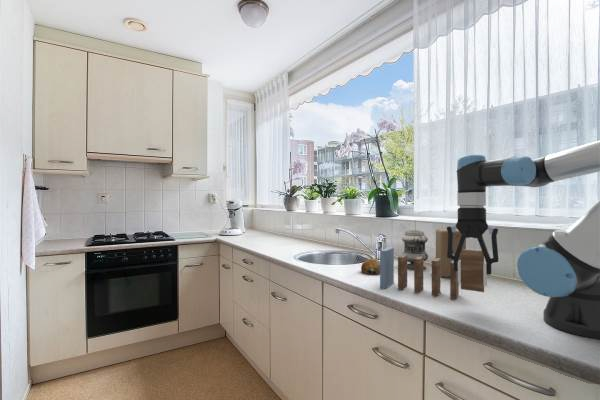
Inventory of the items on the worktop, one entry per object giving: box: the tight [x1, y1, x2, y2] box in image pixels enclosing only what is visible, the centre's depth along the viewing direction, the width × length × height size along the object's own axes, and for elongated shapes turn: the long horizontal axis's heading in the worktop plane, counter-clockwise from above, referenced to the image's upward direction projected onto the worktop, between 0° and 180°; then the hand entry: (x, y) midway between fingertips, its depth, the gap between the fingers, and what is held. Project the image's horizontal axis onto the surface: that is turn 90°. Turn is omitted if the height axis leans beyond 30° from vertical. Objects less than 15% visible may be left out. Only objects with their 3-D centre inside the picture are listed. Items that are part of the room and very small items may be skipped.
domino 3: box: [431, 257, 441, 297], centre depth 106 cm, size 2×6×12 cm, turn 145°
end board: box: [379, 246, 395, 290], centre depth 116 cm, size 2×10×14 cm, turn 146°
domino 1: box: [397, 254, 408, 291], centre depth 113 cm, size 2×6×12 cm, turn 145°
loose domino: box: [460, 248, 485, 293], centre depth 91 cm, size 2×6×12 cm, turn 55°
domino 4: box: [449, 260, 460, 300], centre depth 103 cm, size 2×6×12 cm, turn 145°
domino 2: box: [413, 256, 424, 294], centre depth 110 cm, size 2×6×12 cm, turn 146°
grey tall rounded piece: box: [401, 229, 429, 271], centre depth 147 cm, size 12×12×18 cm
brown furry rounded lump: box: [360, 258, 380, 276], centre depth 137 cm, size 10×10×8 cm
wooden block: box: [435, 228, 467, 279], centre depth 132 cm, size 10×10×20 cm
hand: (472, 283), depth 91 cm, fingers closed on loose domino, 6 cm apart
